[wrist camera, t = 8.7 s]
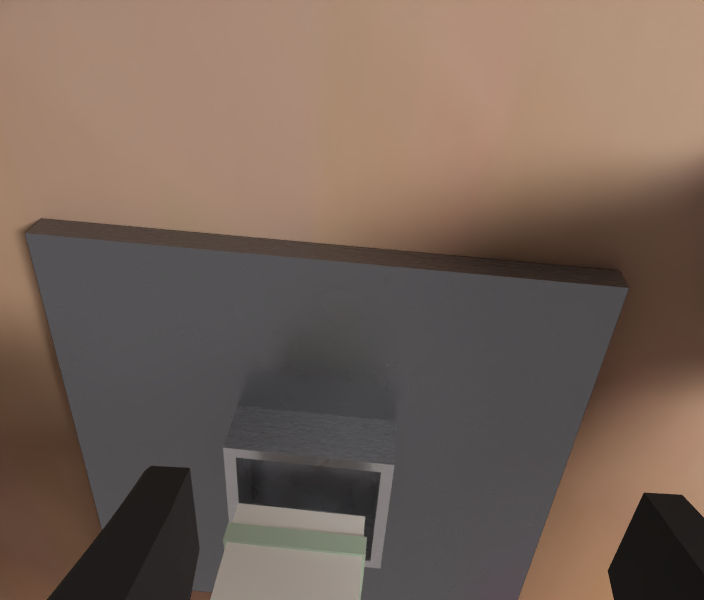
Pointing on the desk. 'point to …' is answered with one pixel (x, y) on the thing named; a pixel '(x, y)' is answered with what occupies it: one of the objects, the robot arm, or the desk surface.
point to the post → (291, 555)
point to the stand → (331, 388)
